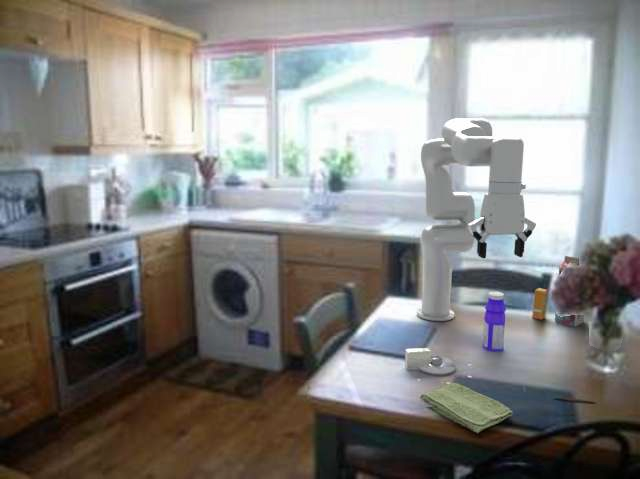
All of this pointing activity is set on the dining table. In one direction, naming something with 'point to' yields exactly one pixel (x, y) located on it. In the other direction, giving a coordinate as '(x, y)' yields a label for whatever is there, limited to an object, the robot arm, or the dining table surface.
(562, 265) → the juice carton
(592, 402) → the fork
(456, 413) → the washcloth
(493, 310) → the bottle
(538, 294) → the supplement box
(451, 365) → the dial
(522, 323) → the dining table surface
